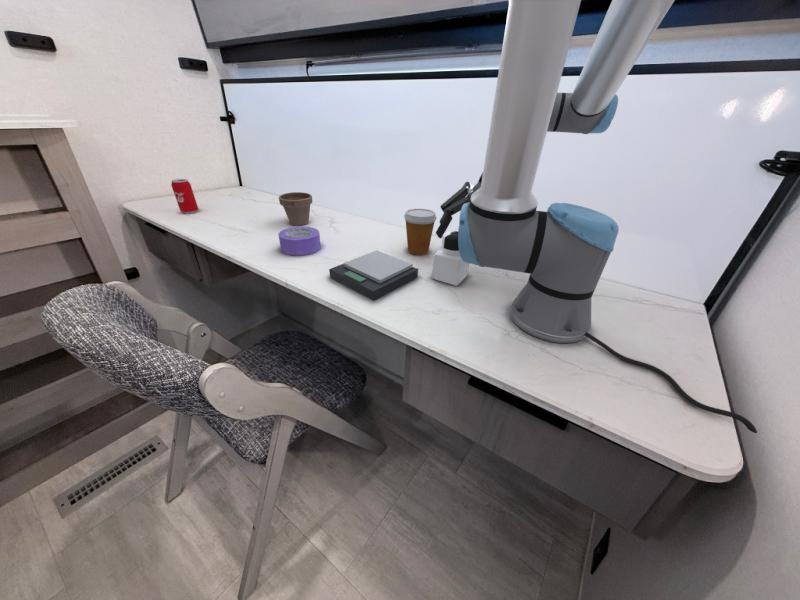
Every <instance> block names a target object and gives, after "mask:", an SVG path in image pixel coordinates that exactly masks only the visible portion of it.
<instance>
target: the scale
mask: <svg viewBox="0 0 800 600" xmlns="http://www.w3.org/2000/svg"><path fill="white" fill-rule="evenodd" d="M328 272H329V278H330V279H331V280H334V281H335V282H337V283H339V284H341V285H343V286H344V287H347V288H349V289H351V290H352V291H354V292H355V293H358V294H359V295H362V296H364V297H365V298H367V299H369V300H371V301H373V302H374V301H377V300H378V299H380V298H382V297H384V296H386V295H388V294H389V293H392V292H393V291H395V290H397V289H399V288H401V287H402V286H405V285H406V284H408V283H410V282H413V281H414V280H416V279H418V278H419V268H416V267H414V266H413V263H410V262H408V261H405V260H402V259H400V258H398V257H395V256H392V255H390V254H388V253H385V252H382V251H379V250H374V251H372V252H369V253H366V254H364V255H360V256H359V257H356V258H353V259H351V260H349V261H346V262H343V263H341V264H339V265H337V266H333V267H331V268H329V269H328Z"/></svg>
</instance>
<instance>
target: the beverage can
mask: <svg viewBox="0 0 800 600" xmlns="http://www.w3.org/2000/svg"><path fill="white" fill-rule="evenodd" d="M170 186H171V188H172V191H173V195H174V198H175V200H176V202H177V205H178V208H179V211H180V212H181V213H182V214H195V213H197V212H198V211H199V206H198V203H197V199H196V197H195V194H194V190H193V188H192V184H191V183H190V181H189V180H188V179H187V178H176V179H172V180H171V183H170Z"/></svg>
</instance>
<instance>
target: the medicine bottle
mask: <svg viewBox="0 0 800 600" xmlns="http://www.w3.org/2000/svg"><path fill="white" fill-rule="evenodd" d="M469 267H470V264H469V263H466V262H464V261H463V260H462V258H461V257H460V254H459V247H458V230H449V231H445V233H444V234H443V236H442V238H441V247H440V249H439V250H438V251H436V252H435V253H434V254H433V264H432V272H431V273H432V275H431V278H432V279H433V280H435V281H438V282H441V283H445V284H448V285H451V286H455V287H457V286H458V285H460V284H461V283H462V282H463V281H464V280H465V278H466V277H468V274H469Z"/></svg>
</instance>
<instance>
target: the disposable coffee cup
mask: <svg viewBox="0 0 800 600" xmlns="http://www.w3.org/2000/svg"><path fill="white" fill-rule="evenodd" d="M436 215H437V214H436V212H435V211H434V210H432V209H427V208H411V209H406V211H405V213H404V214H403V218H404V220H405V230H406V241H407V252H408V253H410V254H411V255H416V256H423V255H427V254H428V253H429V249H430V246H431V241H432V236H433V232H434V226H435V222H436V220H437V219H438V218H437V216H436Z"/></svg>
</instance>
